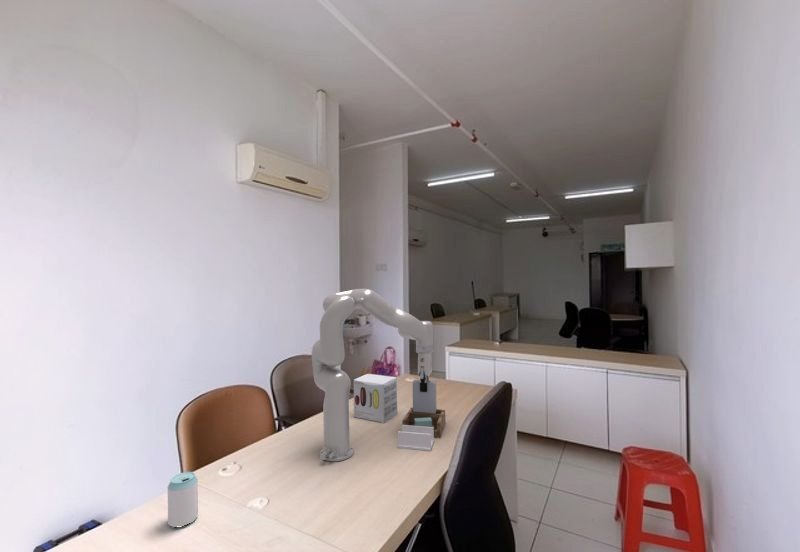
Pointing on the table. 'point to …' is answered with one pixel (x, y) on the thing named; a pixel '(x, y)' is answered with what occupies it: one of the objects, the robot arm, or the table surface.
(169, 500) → the can
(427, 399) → the sheet
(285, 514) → the table surface
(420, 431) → the stand
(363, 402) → the supplement box
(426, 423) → the offcut top
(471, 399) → the table surface
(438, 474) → the table surface
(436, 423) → the box
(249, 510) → the table surface
